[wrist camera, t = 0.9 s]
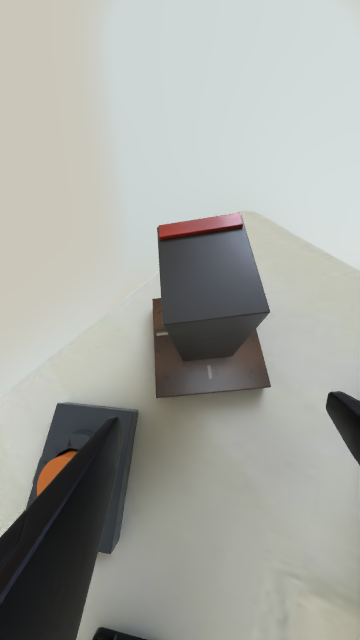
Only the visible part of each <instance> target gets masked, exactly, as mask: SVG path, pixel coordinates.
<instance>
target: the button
mask: <svg viewBox="0 0 360 640" xmlns="http://www.w3.org/2000/svg"><path fill="white" fill-rule="evenodd" d="M76 453H77V451H70V452H68V453H65V454H63V455H61V456H59V457H56V458H54V459H52V460H51V461H50V462H49V463H47V465H46V466H45V467H44V468H43V470H42V472H41V474H40V476H39V479H38V483H37V496H38V495H39V494H40V493H41V492H42V491H43V490H44V489H45V488H46V486H47V485H48V484H49V483H50V482H51V481H52V480H53V479H54V477H55V476H56V475H57V474H58V473H59V472H60V471H61V470H62V469H63V467H64V466H65V465H66V464H67V463H68V462H69V461H70V460H71V458H72V457H73V456H74V455H75V454H76Z"/></svg>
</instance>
